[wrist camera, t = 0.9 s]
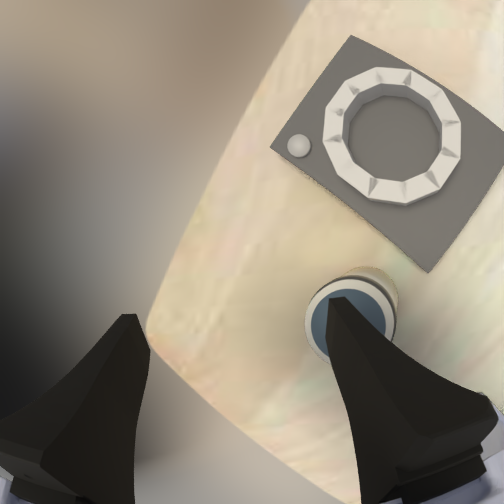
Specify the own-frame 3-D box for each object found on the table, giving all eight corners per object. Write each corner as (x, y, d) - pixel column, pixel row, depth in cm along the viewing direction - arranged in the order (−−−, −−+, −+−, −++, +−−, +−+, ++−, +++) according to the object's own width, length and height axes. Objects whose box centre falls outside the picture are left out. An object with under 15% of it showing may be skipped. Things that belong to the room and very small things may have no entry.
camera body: (508, 149, 16) (524, 134, 13) (426, 270, 20) (430, 277, 16) (355, 47, 21) (344, 20, 17) (280, 153, 24) (257, 140, 21)
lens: (413, 296, 21) (415, 323, 14) (367, 346, 22) (349, 388, 16) (361, 250, 22) (342, 258, 16) (319, 302, 24) (284, 328, 17)
